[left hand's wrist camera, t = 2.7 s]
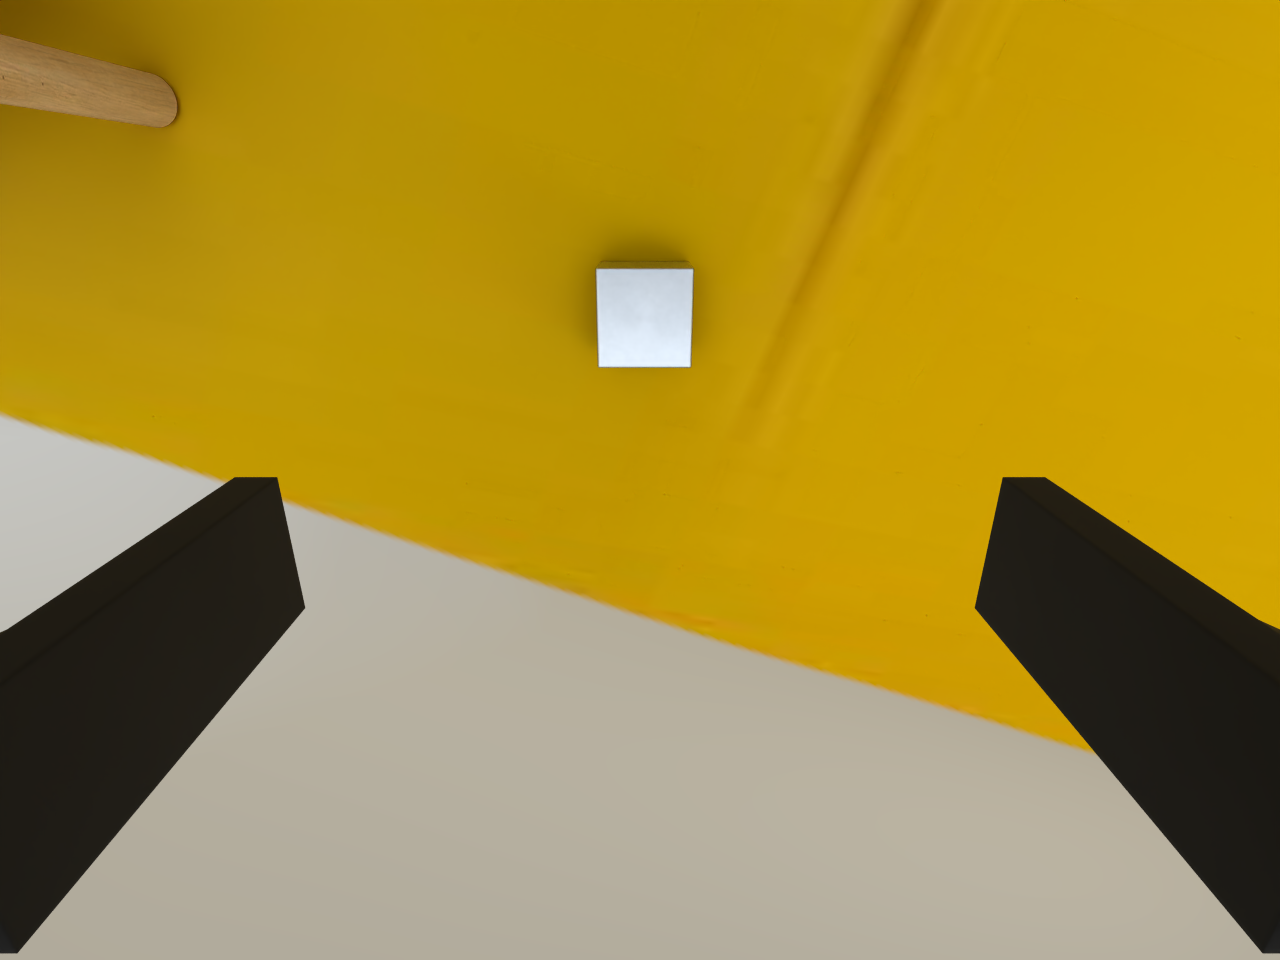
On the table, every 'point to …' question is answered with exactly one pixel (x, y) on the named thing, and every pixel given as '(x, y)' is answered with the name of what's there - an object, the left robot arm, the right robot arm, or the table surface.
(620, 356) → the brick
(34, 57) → the planter
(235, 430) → the table surface
